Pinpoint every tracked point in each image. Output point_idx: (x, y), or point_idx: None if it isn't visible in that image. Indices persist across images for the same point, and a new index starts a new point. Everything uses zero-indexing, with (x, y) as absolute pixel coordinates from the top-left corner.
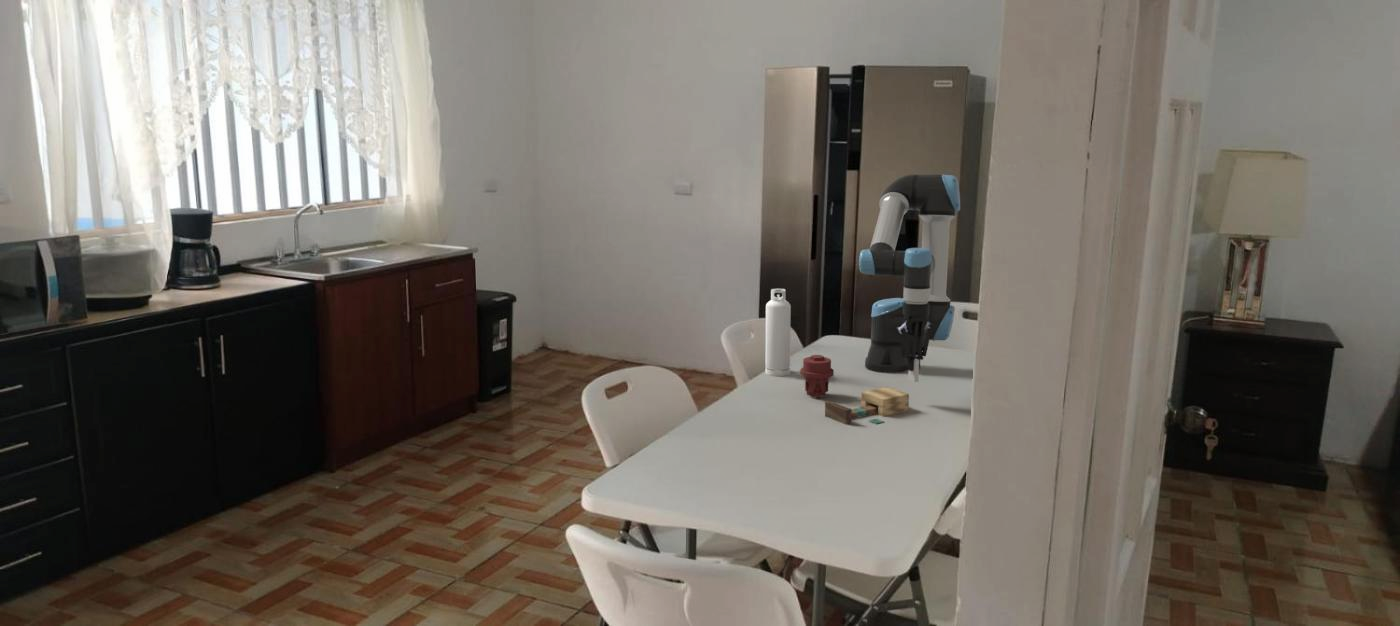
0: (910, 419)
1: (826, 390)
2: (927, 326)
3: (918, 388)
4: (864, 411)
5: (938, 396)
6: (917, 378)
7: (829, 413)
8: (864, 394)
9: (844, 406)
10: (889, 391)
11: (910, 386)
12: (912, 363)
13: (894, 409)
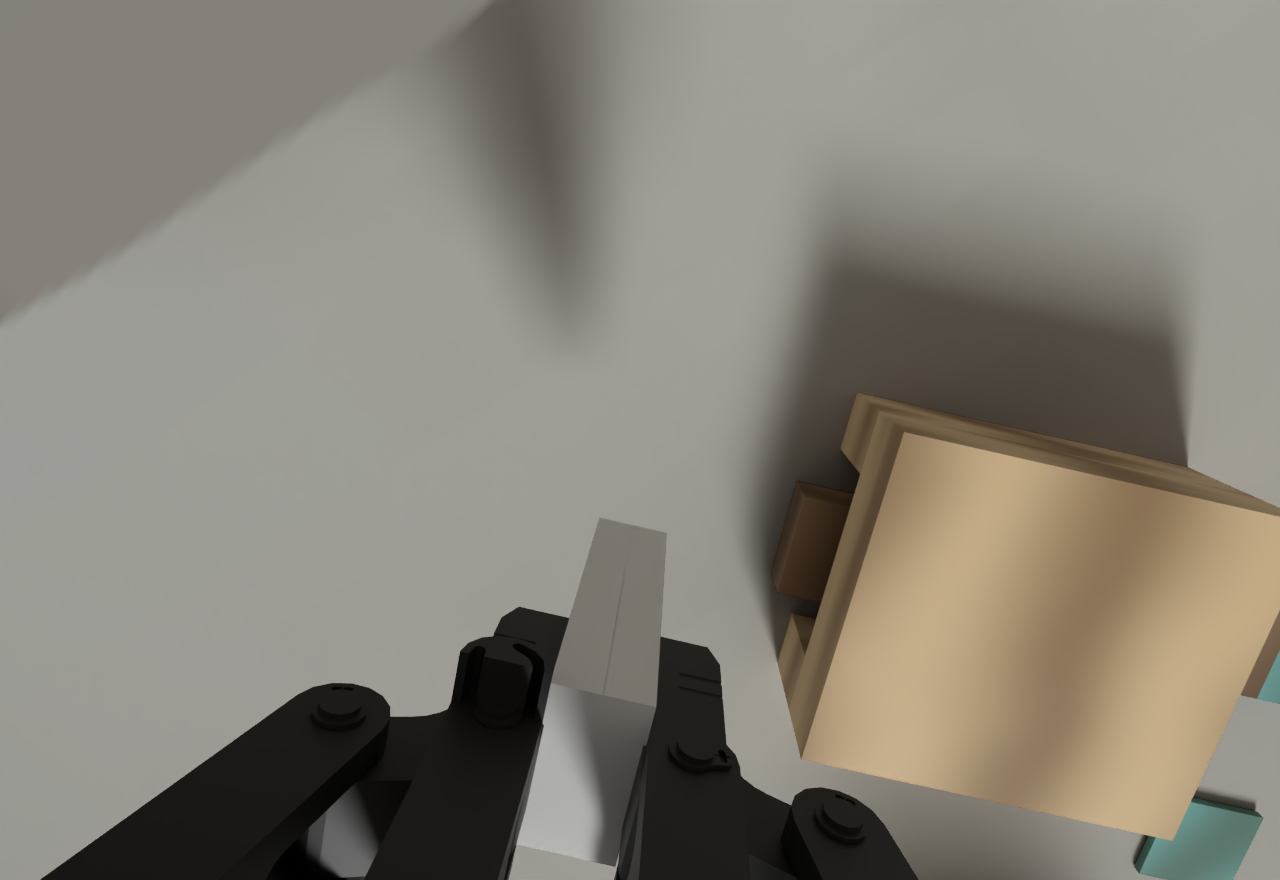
0: (1122, 205)
1: None
2: None
3: (184, 701)
4: None
5: (248, 435)
6: (614, 538)
7: None
8: (1180, 790)
9: (1155, 843)
10: (953, 649)
11: None
12: (686, 713)
13: (1055, 444)
